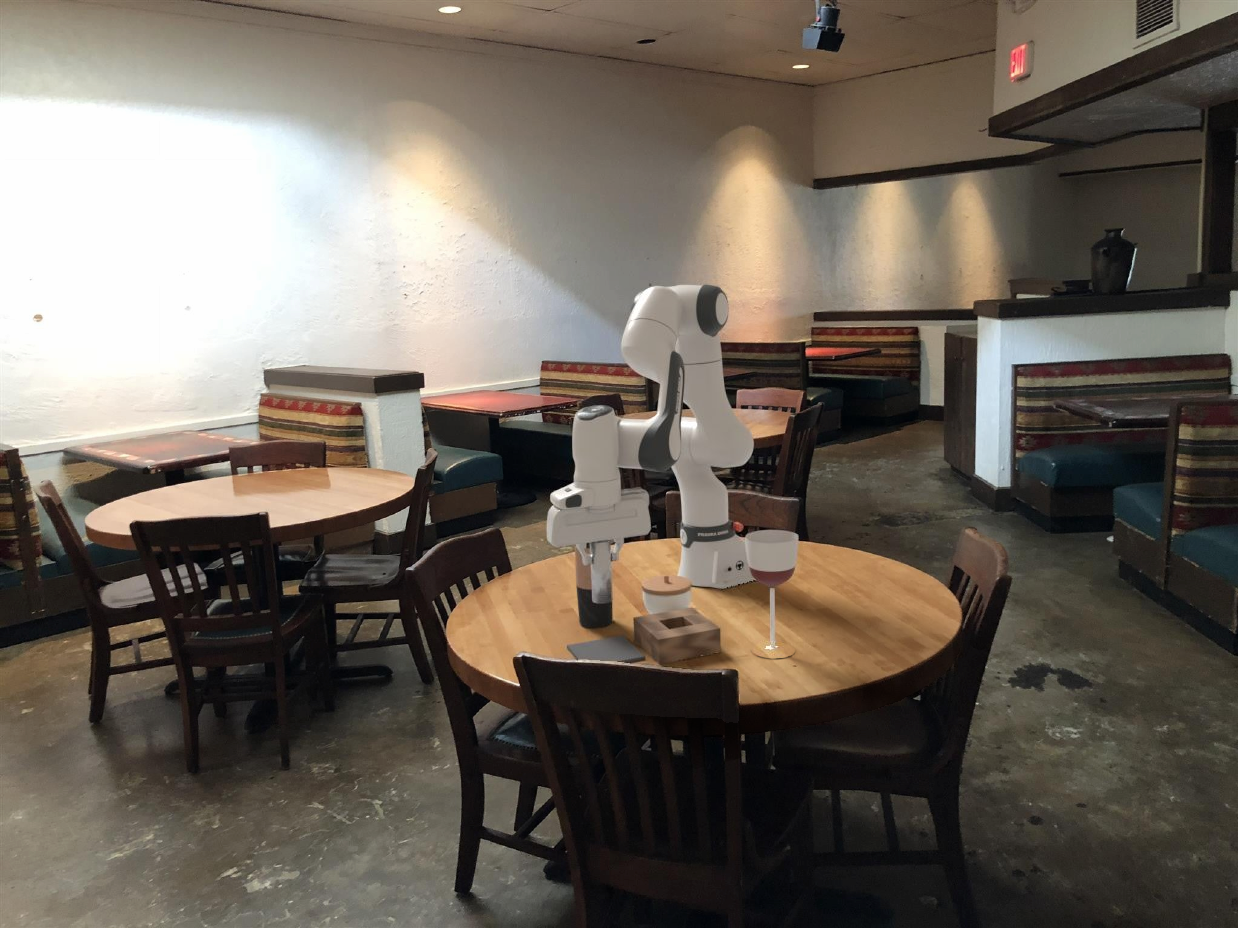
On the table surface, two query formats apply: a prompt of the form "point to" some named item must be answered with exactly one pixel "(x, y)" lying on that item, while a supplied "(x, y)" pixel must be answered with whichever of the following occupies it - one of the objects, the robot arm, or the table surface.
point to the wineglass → (772, 563)
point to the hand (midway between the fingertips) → (600, 562)
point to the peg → (601, 572)
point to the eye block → (676, 635)
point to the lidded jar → (666, 593)
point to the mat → (607, 650)
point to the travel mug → (589, 596)
